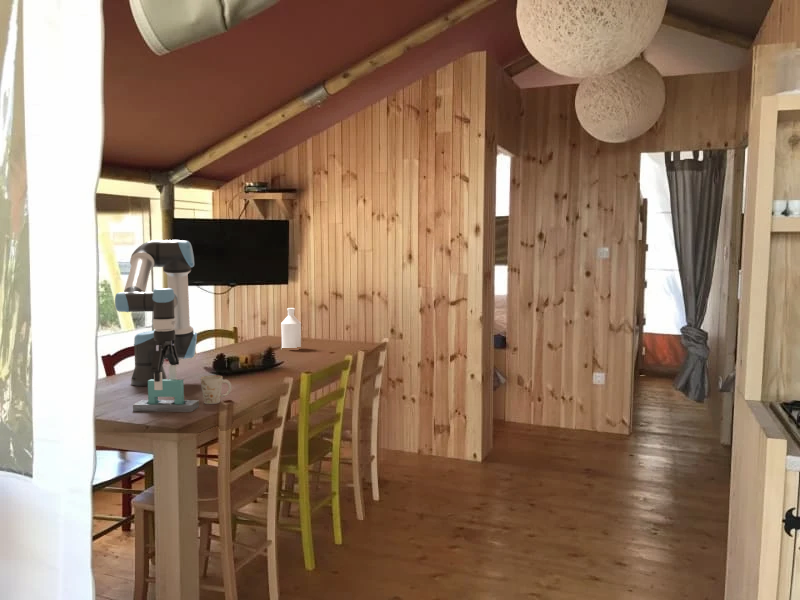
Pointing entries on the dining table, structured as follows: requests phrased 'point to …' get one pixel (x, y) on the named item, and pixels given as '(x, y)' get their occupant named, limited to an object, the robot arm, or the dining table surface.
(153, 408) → the block
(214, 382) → the mug
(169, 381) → the panel
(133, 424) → the dining table surface
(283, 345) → the bottle
